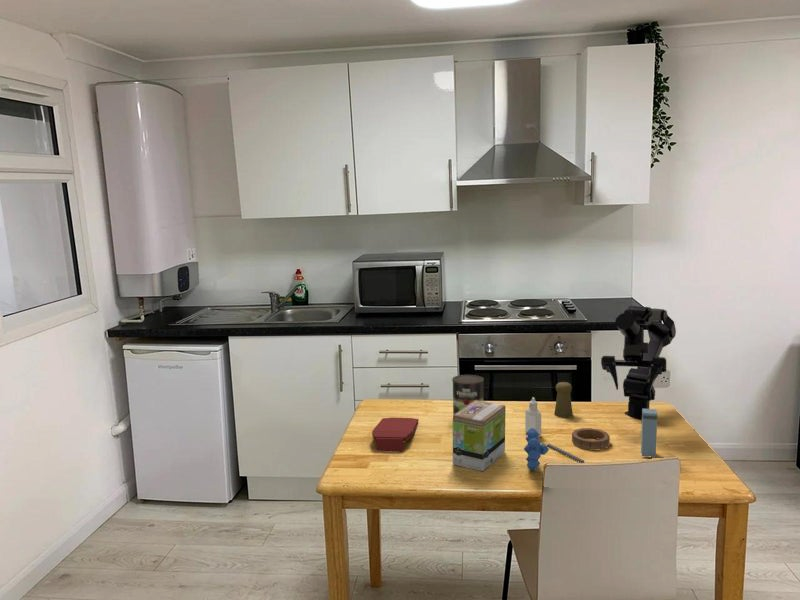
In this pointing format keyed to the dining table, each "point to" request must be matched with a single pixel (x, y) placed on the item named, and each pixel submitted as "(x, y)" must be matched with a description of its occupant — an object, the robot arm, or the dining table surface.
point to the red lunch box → (393, 433)
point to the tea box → (478, 435)
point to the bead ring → (590, 444)
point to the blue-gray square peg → (649, 432)
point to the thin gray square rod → (564, 452)
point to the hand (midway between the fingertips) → (633, 390)
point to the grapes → (534, 449)
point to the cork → (563, 400)
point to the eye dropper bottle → (533, 417)
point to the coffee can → (466, 391)
